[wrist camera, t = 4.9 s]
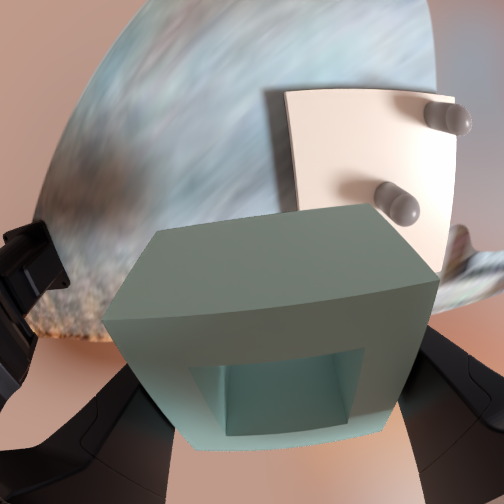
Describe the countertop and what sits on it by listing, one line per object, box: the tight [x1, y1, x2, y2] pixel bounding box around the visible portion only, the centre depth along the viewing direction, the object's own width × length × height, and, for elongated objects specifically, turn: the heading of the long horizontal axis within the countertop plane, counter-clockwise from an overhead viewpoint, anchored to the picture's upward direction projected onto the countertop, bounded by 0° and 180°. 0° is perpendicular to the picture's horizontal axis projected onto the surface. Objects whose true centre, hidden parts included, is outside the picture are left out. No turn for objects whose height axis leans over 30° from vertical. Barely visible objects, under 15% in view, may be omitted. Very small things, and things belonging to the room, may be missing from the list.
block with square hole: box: [101, 203, 440, 451], centre depth 8 cm, size 6×6×4 cm
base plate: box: [284, 89, 472, 273], centre depth 16 cm, size 12×14×5 cm
